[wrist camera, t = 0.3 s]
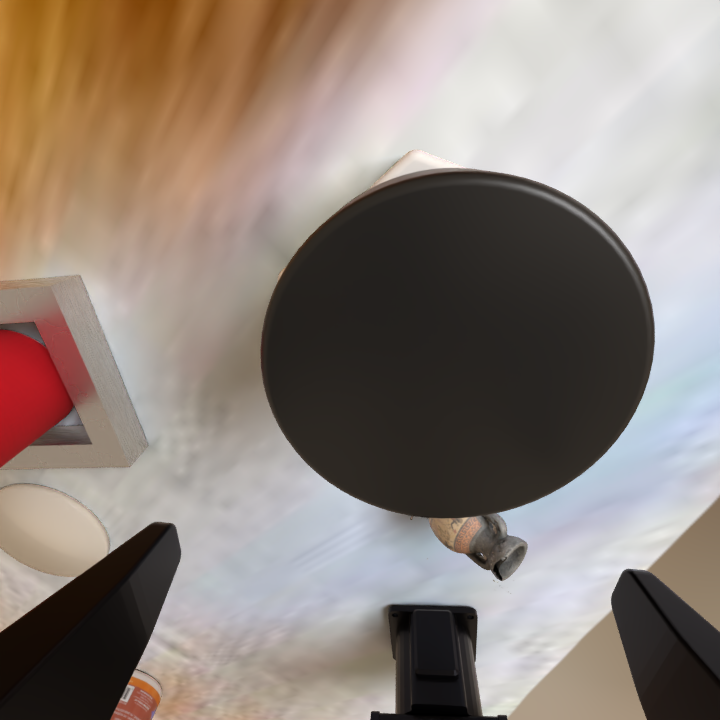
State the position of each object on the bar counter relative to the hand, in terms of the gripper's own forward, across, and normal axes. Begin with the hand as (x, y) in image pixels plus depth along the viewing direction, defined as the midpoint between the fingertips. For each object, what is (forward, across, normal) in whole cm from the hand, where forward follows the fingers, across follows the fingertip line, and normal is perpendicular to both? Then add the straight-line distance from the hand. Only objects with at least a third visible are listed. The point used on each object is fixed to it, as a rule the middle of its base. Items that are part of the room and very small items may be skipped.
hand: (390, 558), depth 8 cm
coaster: (+14, +24, +18) cm, 34 cm away
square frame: (+14, +21, +5) cm, 26 cm away
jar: (+14, -1, -3) cm, 15 cm away
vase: (+14, -5, +10) cm, 18 cm away
